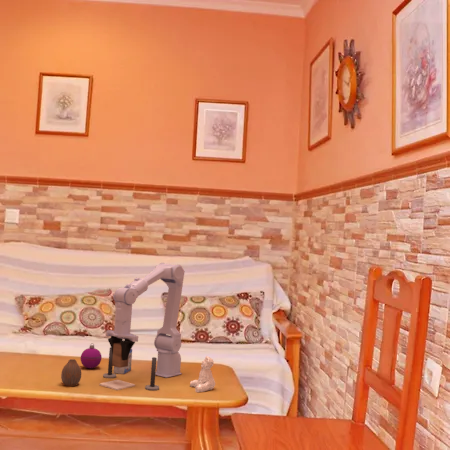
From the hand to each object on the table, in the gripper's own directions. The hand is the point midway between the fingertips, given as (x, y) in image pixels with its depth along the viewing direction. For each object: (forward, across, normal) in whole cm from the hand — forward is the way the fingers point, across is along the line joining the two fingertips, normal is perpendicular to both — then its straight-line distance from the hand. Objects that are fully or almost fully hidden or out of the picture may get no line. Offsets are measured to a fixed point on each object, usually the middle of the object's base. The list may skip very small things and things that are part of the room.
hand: (120, 358), depth 203 cm
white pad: (+10, 0, 0) cm, 10 cm away
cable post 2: (+10, +11, +6) cm, 16 cm away
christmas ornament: (+10, -26, +10) cm, 29 cm away
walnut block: (+3, 0, 0) cm, 3 cm away
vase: (+10, -11, -12) cm, 19 cm away
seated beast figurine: (+10, +23, +21) cm, 32 cm away
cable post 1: (+10, -11, +6) cm, 16 cm away
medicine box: (+10, -14, +16) cm, 23 cm away
